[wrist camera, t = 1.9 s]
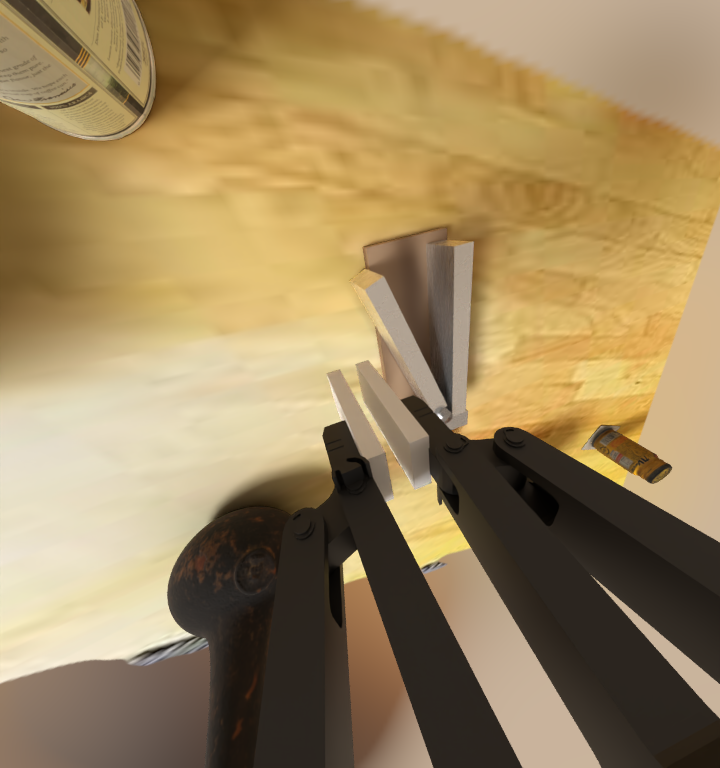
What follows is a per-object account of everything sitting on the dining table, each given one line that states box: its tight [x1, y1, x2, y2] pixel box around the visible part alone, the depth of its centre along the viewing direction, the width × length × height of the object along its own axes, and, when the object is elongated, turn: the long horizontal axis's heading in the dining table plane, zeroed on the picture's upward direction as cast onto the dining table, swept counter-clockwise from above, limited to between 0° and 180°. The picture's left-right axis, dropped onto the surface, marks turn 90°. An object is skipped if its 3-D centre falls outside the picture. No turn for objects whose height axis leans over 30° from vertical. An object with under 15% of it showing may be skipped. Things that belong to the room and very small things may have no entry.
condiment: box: [581, 426, 672, 484], centre depth 59 cm, size 7×8×12 cm
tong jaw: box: [349, 269, 453, 424], centre depth 30 cm, size 2×20×6 cm, turn 31°
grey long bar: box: [426, 240, 474, 430], centre depth 32 cm, size 5×23×5 cm, turn 11°
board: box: [363, 228, 447, 465], centre depth 36 cm, size 9×33×1 cm, turn 11°
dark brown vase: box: [167, 506, 291, 768], centre depth 31 cm, size 18×18×28 cm
